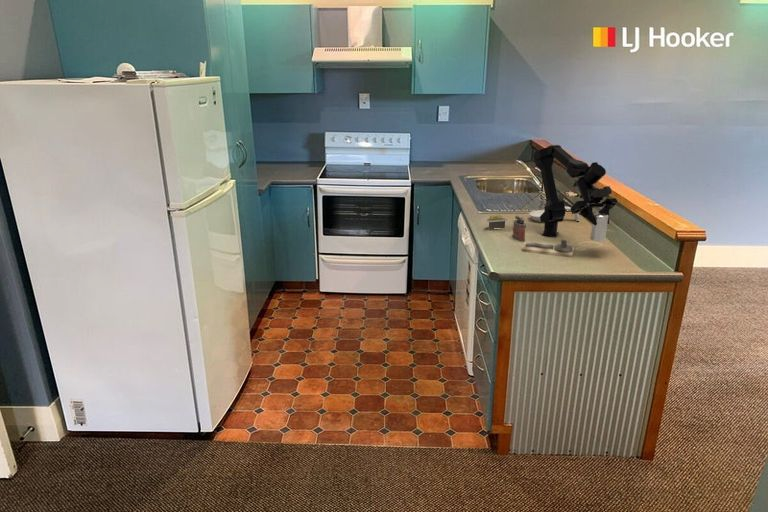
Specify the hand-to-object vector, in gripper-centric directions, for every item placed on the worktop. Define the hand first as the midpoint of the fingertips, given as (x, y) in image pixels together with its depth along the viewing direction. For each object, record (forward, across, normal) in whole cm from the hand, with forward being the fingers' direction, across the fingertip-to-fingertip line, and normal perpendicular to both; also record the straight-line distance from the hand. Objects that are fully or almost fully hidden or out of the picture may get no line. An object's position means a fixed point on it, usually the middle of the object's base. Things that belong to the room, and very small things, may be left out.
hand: (602, 224), depth 214 cm
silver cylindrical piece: (+4, 0, +6) cm, 7 cm away
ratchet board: (0, -14, +19) cm, 24 cm away
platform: (-23, -19, +44) cm, 54 cm away
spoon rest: (-26, +15, +46) cm, 55 cm away
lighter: (-12, -17, +32) cm, 38 cm away
